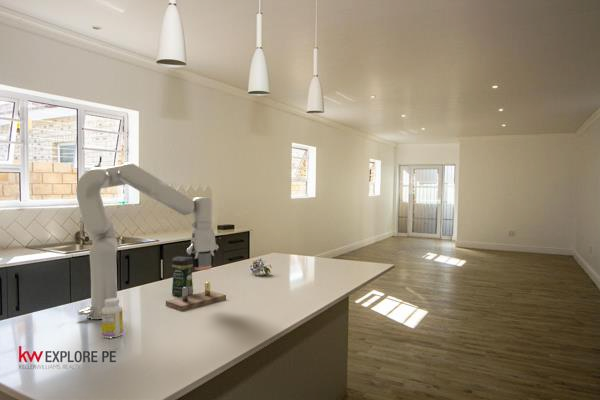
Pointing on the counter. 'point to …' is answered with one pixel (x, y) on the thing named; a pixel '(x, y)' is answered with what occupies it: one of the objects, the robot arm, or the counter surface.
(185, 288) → the pins
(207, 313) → the counter surface
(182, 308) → the pin board
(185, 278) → the coffee jar
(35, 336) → the counter surface
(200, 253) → the sleeve
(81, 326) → the counter surface
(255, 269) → the passion flower
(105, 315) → the supplement bottle
